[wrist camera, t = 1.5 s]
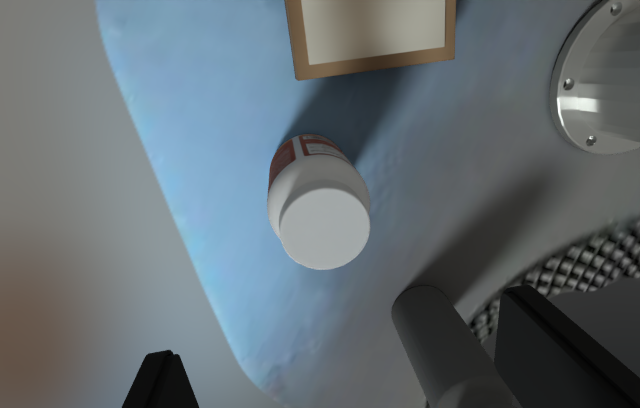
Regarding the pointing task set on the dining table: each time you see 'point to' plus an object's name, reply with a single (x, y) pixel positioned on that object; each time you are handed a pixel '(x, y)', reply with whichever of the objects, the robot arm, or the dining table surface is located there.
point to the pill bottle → (317, 203)
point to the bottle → (447, 353)
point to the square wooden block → (368, 34)
